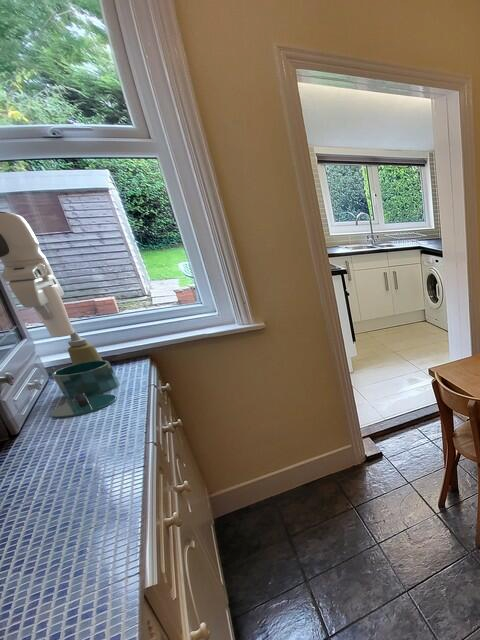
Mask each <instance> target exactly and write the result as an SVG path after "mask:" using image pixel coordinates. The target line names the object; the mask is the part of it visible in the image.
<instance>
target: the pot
mask: <svg viewBox="0 0 480 640" xmlns="http://www.w3.org/2000/svg"><path fill="white" fill-rule="evenodd" d="M51 375H52V377H53V379H54V381H55V383H56V385H57V387H58V388H59V390H60V392H61V394H62V395H63V397H64V399H67V400H75V398H74V396H73V395H75V394H78V393H85V395H86V397H90V396H96V395H102V394H104V393H106V392H109V391H112V390H113V389H115V388H118V386H119V385H120V382H119V379H118V377H117V375H116V373H115V371H114V369H113V367H112V365H111V363H110V361H108V360H105V359H104V360H103V359H102V360H99V361H90V362H83V363H79V364H75V365H73V364H71V365H68V366H64V367H61V368H59V369H56V370H54V371H53V372H52V373H51Z"/></svg>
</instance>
